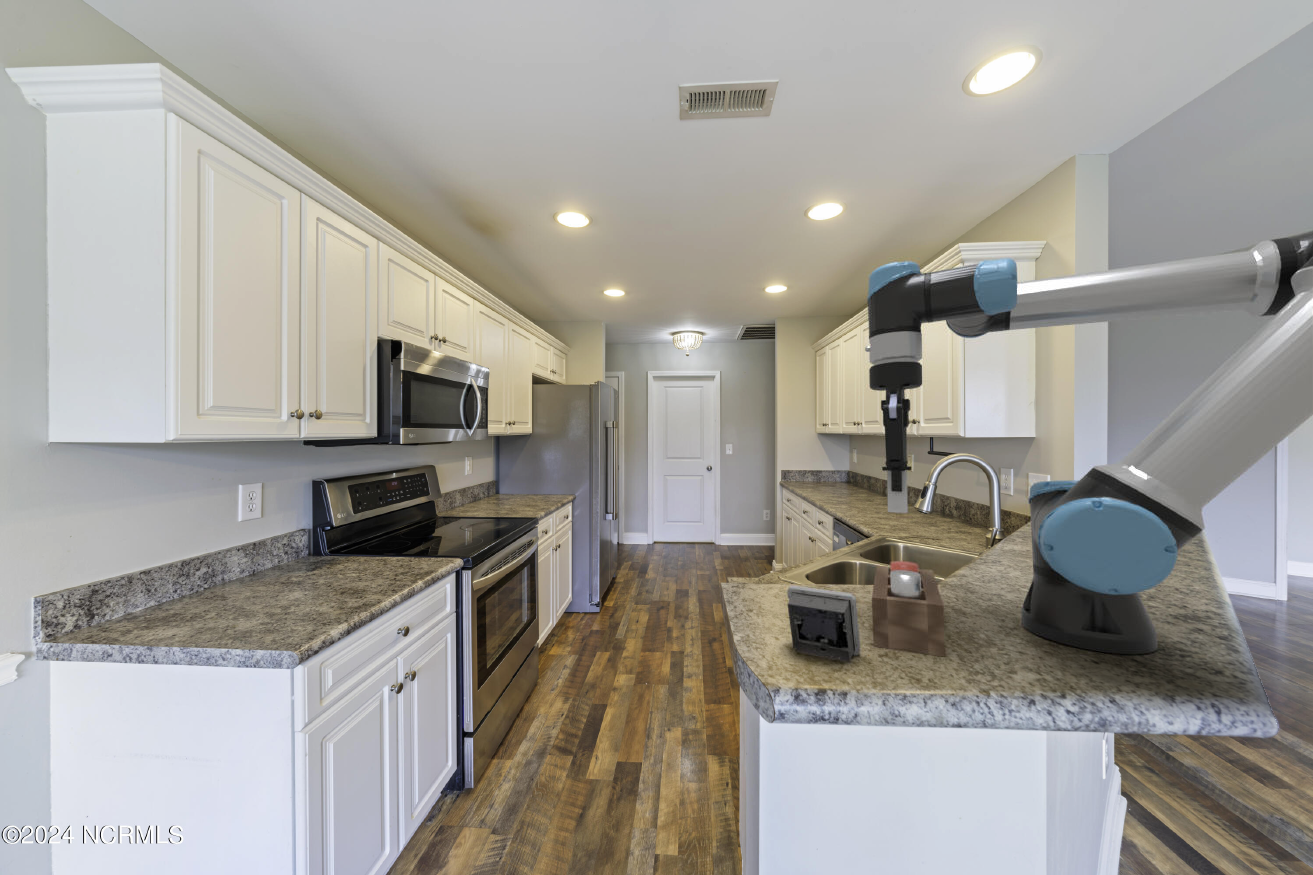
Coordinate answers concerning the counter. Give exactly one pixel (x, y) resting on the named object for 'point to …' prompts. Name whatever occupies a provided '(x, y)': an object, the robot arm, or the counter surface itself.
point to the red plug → (904, 566)
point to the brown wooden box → (908, 616)
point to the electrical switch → (823, 622)
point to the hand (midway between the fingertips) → (897, 511)
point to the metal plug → (905, 584)
